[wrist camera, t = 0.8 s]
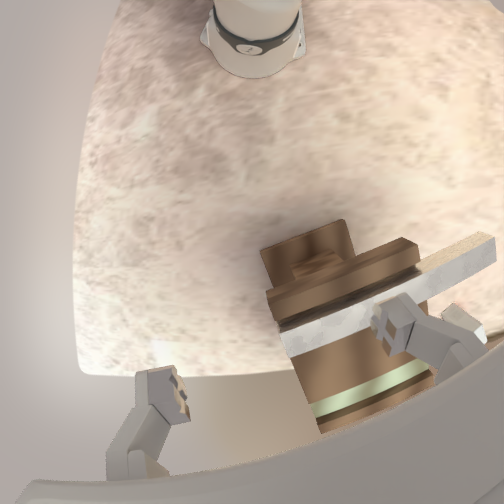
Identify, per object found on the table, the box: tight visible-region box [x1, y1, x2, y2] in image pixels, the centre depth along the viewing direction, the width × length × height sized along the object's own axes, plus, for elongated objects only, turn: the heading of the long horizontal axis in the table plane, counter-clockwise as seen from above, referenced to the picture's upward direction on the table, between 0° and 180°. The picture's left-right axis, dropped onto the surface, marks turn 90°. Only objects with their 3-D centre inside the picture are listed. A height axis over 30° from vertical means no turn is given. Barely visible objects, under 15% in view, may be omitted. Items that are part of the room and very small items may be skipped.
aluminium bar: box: [276, 231, 497, 358], centre depth 30 cm, size 26×3×3 cm, turn 111°
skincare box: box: [441, 303, 487, 344], centre depth 56 cm, size 6×4×12 cm
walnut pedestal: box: [260, 219, 434, 434], centre depth 45 cm, size 16×20×28 cm
